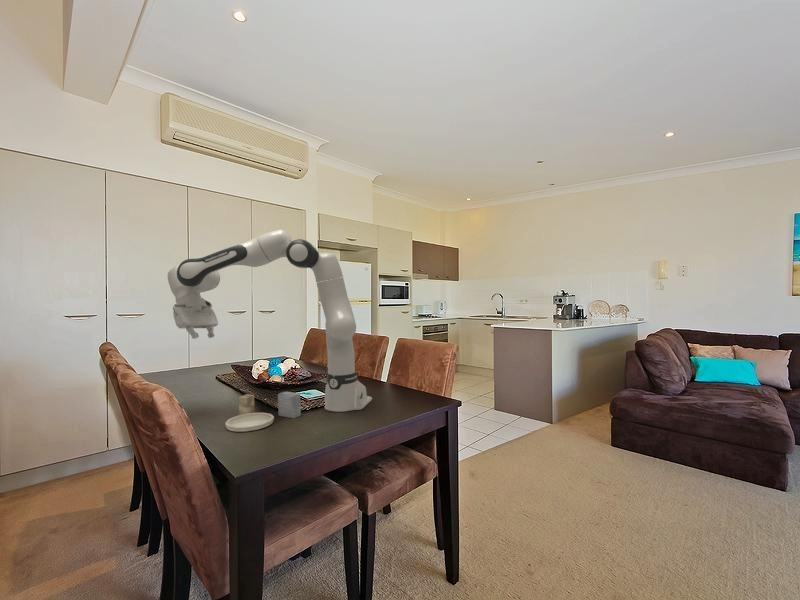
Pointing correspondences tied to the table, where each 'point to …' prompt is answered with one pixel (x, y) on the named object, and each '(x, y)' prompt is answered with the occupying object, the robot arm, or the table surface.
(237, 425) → the dish
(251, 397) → the birch block
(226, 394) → the table surface
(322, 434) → the table surface
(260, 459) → the table surface
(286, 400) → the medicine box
